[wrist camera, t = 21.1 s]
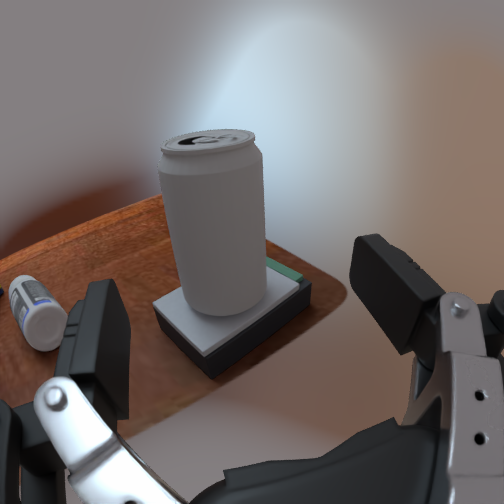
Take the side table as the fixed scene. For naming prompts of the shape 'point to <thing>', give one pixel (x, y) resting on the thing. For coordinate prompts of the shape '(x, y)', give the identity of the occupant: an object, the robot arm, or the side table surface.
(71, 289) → the side table surface
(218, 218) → the beverage can
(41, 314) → the pill bottle
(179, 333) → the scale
